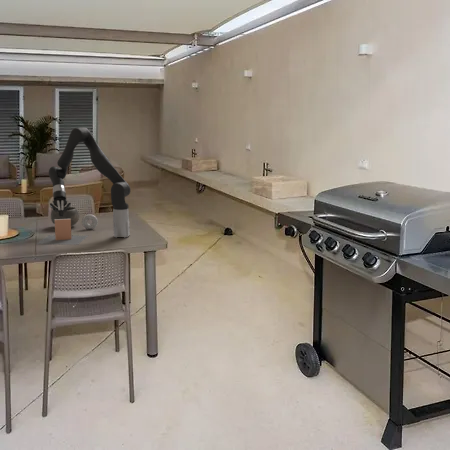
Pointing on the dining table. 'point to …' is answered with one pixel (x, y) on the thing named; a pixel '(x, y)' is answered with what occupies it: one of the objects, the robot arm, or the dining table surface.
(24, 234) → the dining table surface
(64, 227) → the tile
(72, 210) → the bowl
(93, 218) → the donut
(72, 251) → the dining table surface
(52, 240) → the mat
